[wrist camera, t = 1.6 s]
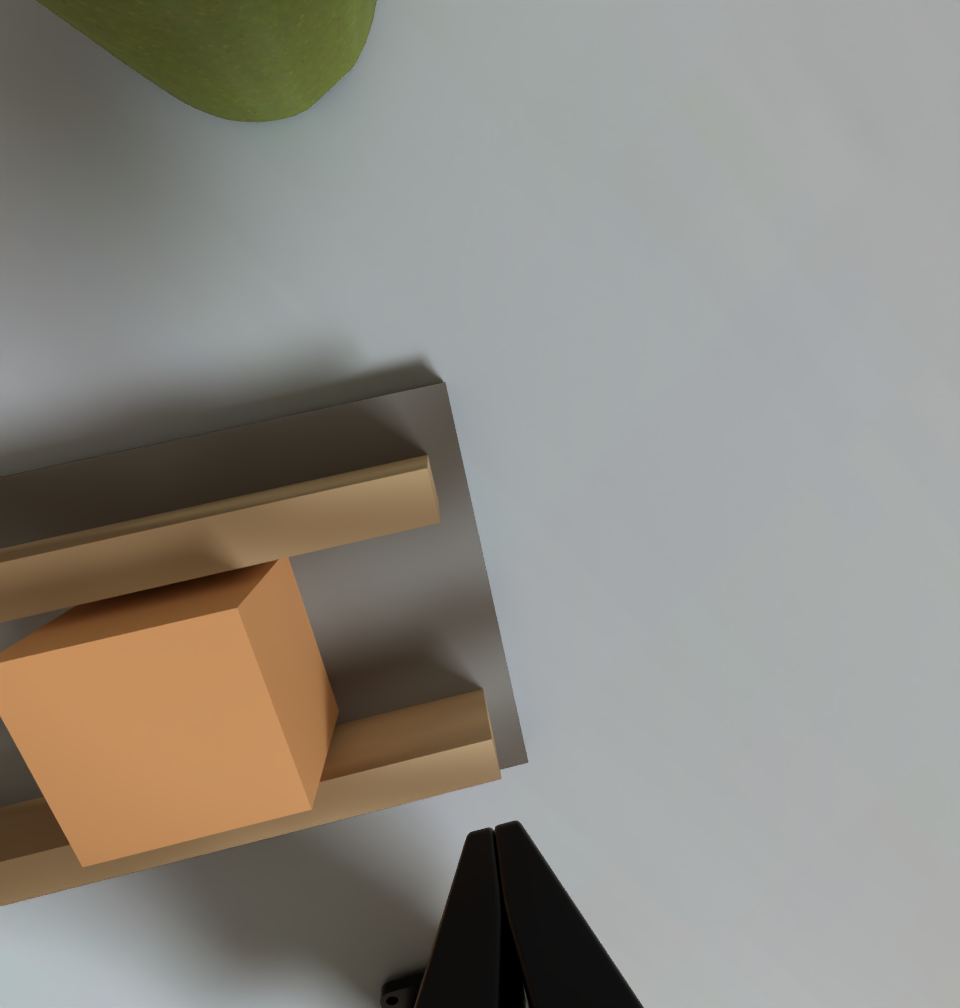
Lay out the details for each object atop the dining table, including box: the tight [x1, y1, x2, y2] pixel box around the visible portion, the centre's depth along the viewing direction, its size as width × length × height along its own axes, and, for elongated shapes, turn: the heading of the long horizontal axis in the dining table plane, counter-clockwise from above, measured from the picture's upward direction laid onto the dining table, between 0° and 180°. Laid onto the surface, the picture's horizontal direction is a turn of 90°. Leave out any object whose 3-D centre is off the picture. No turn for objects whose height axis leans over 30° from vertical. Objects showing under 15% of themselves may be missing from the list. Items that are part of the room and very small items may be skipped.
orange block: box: [0, 557, 339, 867], centre depth 14 cm, size 6×6×4 cm
